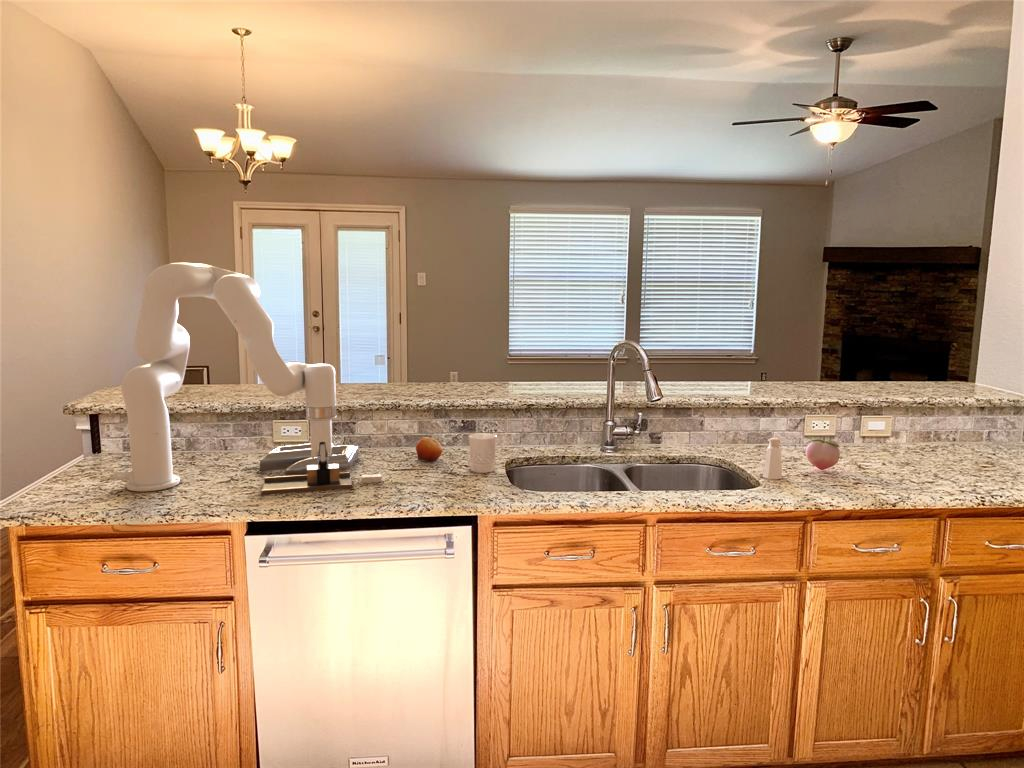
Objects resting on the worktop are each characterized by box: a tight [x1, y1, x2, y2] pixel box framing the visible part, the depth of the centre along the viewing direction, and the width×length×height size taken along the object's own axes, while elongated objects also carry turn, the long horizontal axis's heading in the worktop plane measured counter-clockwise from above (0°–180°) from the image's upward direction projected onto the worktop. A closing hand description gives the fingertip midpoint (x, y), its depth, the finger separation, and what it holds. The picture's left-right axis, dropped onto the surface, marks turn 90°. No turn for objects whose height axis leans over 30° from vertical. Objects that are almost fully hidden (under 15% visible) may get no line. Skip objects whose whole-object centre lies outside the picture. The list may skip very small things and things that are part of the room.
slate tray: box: [260, 471, 353, 496], centre depth 181 cm, size 22×12×2 cm, turn 106°
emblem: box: [259, 443, 360, 476], centre depth 202 cm, size 28×5×28 cm
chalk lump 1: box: [361, 474, 373, 484], centre depth 185 cm, size 2×2×2 cm
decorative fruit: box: [805, 436, 841, 471], centre depth 204 cm, size 9×8×10 cm
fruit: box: [415, 436, 443, 463], centre depth 210 cm, size 8×8×8 cm
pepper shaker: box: [762, 437, 783, 480], centre depth 196 cm, size 5×5×11 cm
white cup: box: [468, 432, 497, 474], centre depth 200 cm, size 8×8×10 cm
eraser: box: [306, 464, 340, 487], centre depth 182 cm, size 8×4×4 cm, turn 106°
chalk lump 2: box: [370, 473, 383, 483], centre depth 185 cm, size 2×2×2 cm
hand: (323, 480), depth 182 cm, fingers closed on eraser, 4 cm apart
